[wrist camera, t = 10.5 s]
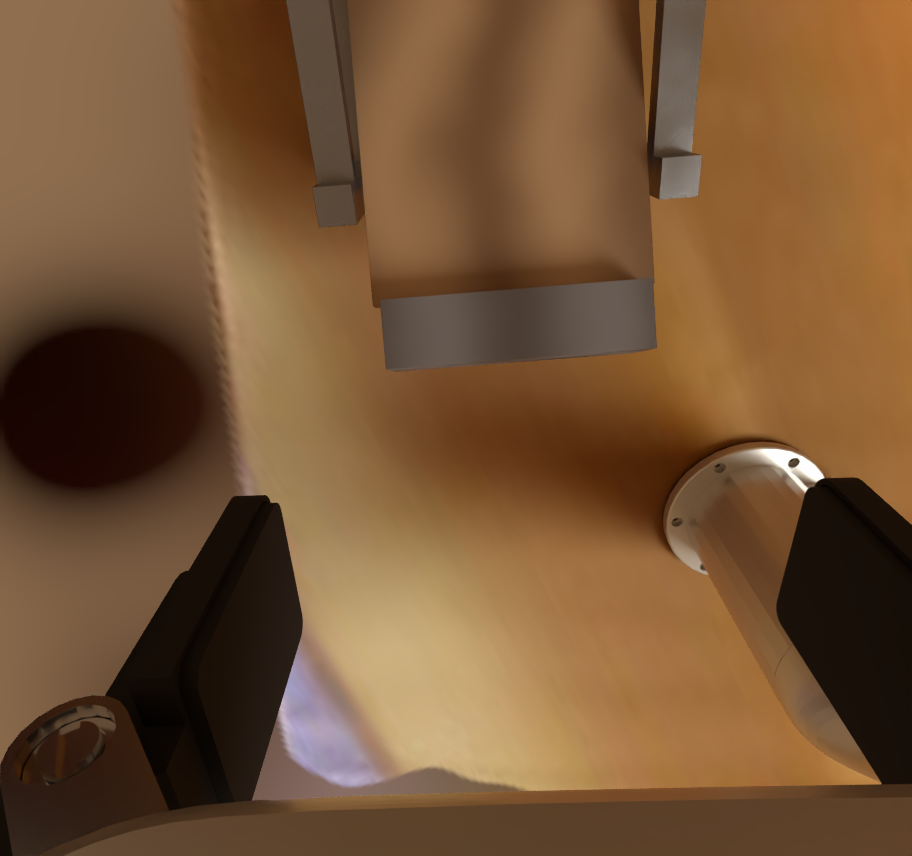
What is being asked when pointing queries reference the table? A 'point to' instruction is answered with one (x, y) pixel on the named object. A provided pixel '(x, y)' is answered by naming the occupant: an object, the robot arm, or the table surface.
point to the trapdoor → (504, 178)
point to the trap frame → (335, 117)
